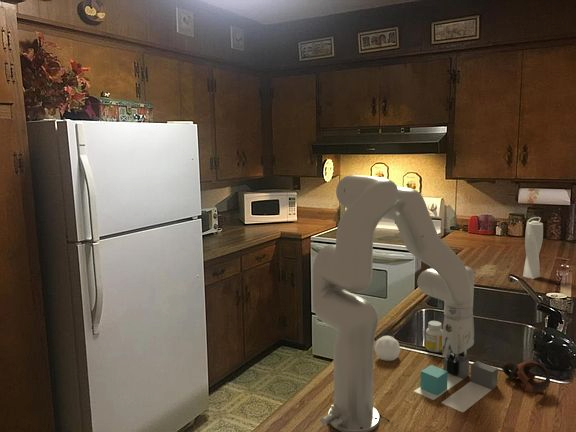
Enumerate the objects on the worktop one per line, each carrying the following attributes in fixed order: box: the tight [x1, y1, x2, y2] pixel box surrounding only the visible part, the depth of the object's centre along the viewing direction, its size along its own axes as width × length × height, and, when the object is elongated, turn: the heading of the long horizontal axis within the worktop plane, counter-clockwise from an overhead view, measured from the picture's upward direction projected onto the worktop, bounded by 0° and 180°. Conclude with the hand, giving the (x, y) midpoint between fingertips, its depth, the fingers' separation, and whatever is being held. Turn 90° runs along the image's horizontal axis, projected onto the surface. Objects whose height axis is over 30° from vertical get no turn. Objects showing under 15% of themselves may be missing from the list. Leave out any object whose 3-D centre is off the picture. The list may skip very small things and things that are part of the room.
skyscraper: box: [522, 216, 544, 280], centre depth 223 cm, size 8×8×28 cm
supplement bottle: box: [424, 320, 444, 354], centre depth 152 cm, size 5×5×10 cm
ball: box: [373, 335, 401, 362], centre depth 147 cm, size 8×8×8 cm
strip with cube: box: [413, 353, 470, 401], centre depth 131 cm, size 18×6×6 cm, turn 132°
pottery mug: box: [501, 360, 551, 393], centre depth 131 cm, size 12×10×8 cm
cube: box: [419, 364, 448, 395], centre depth 129 cm, size 5×5×5 cm
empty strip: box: [441, 360, 499, 413], centre depth 126 cm, size 18×6×6 cm, turn 132°
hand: (455, 370), depth 136 cm, fingers closed on strip with cube, 3 cm apart
